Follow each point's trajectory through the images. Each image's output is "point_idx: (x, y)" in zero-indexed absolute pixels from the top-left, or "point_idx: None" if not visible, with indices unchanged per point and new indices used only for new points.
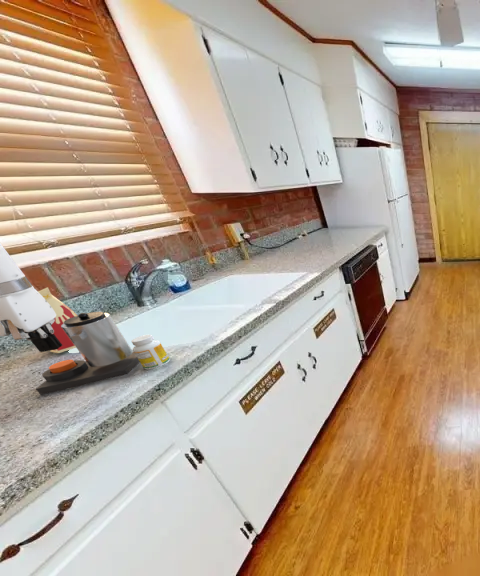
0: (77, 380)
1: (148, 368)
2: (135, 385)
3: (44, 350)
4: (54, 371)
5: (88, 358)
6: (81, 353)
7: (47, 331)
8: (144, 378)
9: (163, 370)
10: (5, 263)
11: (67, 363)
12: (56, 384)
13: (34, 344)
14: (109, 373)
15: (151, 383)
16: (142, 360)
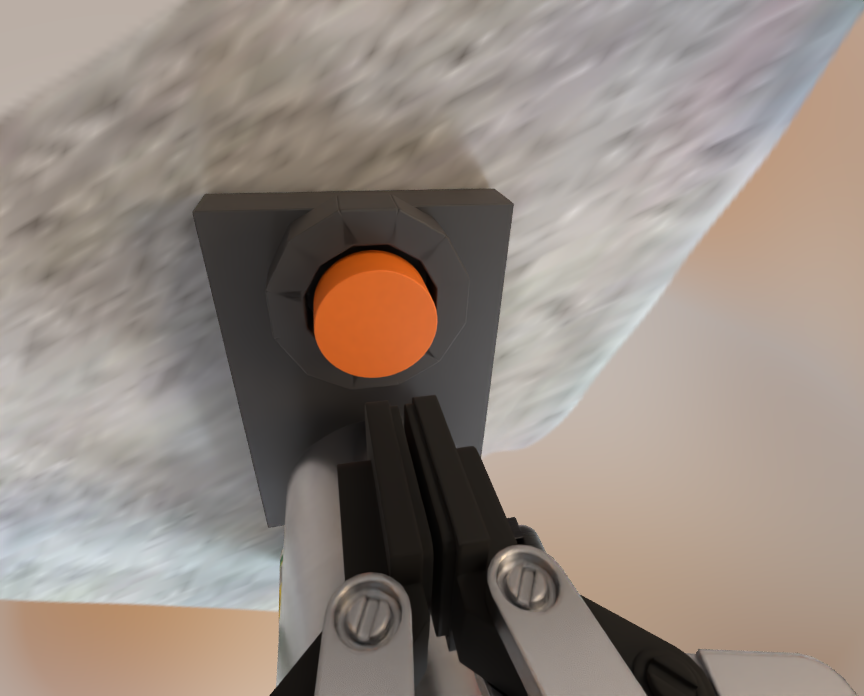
0: (236, 384)
1: (281, 556)
2: (161, 551)
3: (366, 435)
4: (315, 300)
5: (292, 527)
6: (305, 549)
7: (484, 692)
8: (218, 551)
9: (266, 575)
10: None
11: (363, 365)
12: (216, 307)
13: (380, 484)
14: (258, 485)
15: (159, 590)
16: (280, 602)
